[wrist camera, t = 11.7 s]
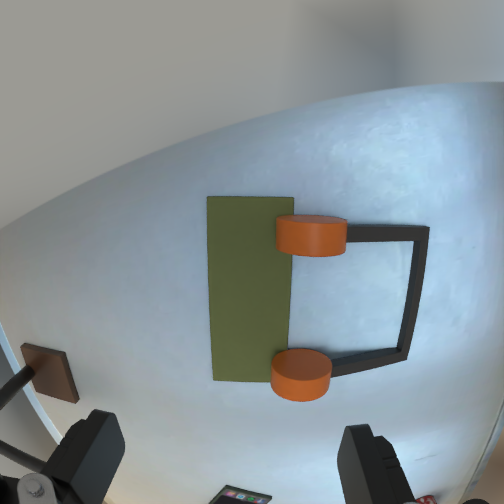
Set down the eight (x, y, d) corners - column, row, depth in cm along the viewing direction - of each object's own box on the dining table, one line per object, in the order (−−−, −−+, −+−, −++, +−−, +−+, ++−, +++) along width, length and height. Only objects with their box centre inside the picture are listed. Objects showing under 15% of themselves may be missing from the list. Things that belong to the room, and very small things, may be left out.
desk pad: (207, 196, 29) (206, 196, 28) (293, 197, 29) (293, 197, 28) (213, 378, 33) (213, 380, 33) (284, 380, 33) (284, 382, 33)
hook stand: (102, 359, 33) (30, 450, 17) (115, 407, 35) (62, 498, 19) (22, 342, 34) (-52, 403, 17) (37, 386, 36) (-23, 452, 19)
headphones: (279, 406, 26) (416, 373, 29) (289, 223, 22) (445, 224, 26) (264, 371, 32) (389, 350, 35) (268, 214, 28) (408, 216, 31)
